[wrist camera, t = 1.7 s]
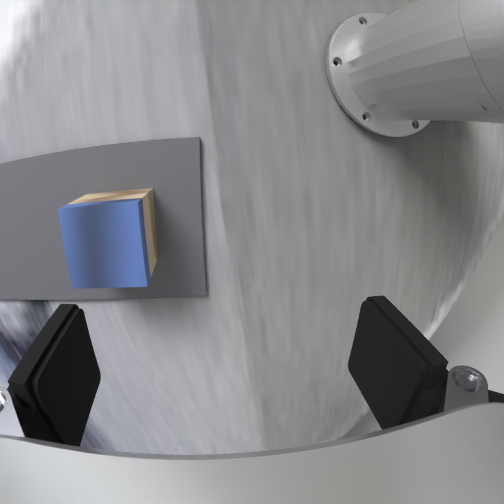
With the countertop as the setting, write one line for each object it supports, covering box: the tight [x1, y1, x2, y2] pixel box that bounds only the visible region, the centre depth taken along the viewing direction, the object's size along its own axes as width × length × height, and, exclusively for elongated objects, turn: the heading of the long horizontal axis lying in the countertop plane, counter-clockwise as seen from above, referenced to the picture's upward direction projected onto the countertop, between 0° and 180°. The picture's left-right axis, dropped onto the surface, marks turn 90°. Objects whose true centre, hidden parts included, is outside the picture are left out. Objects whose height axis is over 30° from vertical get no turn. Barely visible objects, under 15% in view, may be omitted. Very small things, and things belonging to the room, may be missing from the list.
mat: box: [0, 137, 206, 300], centre depth 25 cm, size 26×14×1 cm, turn 90°
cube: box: [58, 188, 159, 289], centre depth 23 cm, size 6×6×6 cm
